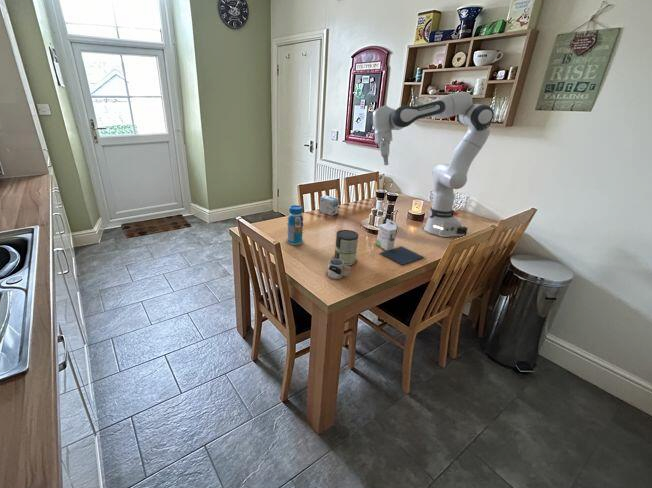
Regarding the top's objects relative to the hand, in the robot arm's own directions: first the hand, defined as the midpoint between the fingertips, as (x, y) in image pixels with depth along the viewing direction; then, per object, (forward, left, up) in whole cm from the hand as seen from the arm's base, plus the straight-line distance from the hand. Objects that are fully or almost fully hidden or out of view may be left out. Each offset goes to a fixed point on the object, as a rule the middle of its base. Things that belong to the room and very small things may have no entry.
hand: (386, 165), depth 175 cm
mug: (+29, +49, -40) cm, 70 cm away
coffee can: (+24, +34, -40) cm, 58 cm away
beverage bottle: (+48, +14, -40) cm, 64 cm away
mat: (-6, +28, -40) cm, 49 cm away
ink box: (0, +18, -40) cm, 44 cm away
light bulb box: (+24, -34, -40) cm, 58 cm away
